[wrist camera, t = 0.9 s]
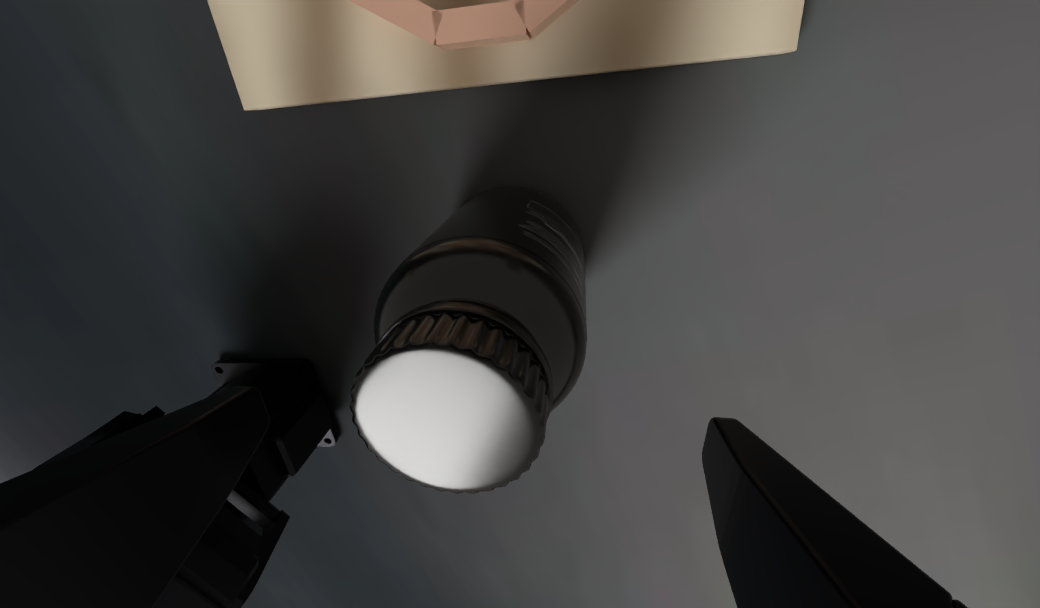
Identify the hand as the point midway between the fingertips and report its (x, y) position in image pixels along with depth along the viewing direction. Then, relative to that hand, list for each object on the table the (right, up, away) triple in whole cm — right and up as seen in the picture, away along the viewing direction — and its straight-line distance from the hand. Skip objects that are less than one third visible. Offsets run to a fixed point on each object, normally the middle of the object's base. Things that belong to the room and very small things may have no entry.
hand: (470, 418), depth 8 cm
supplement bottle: (+1, +5, +13) cm, 13 cm away
